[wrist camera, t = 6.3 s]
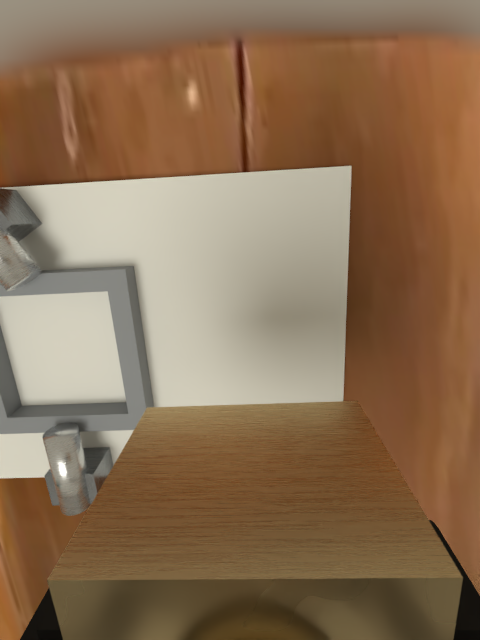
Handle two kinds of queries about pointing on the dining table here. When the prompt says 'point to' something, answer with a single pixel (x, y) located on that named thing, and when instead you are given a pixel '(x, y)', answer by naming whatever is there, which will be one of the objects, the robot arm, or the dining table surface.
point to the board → (172, 303)
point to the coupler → (255, 534)
